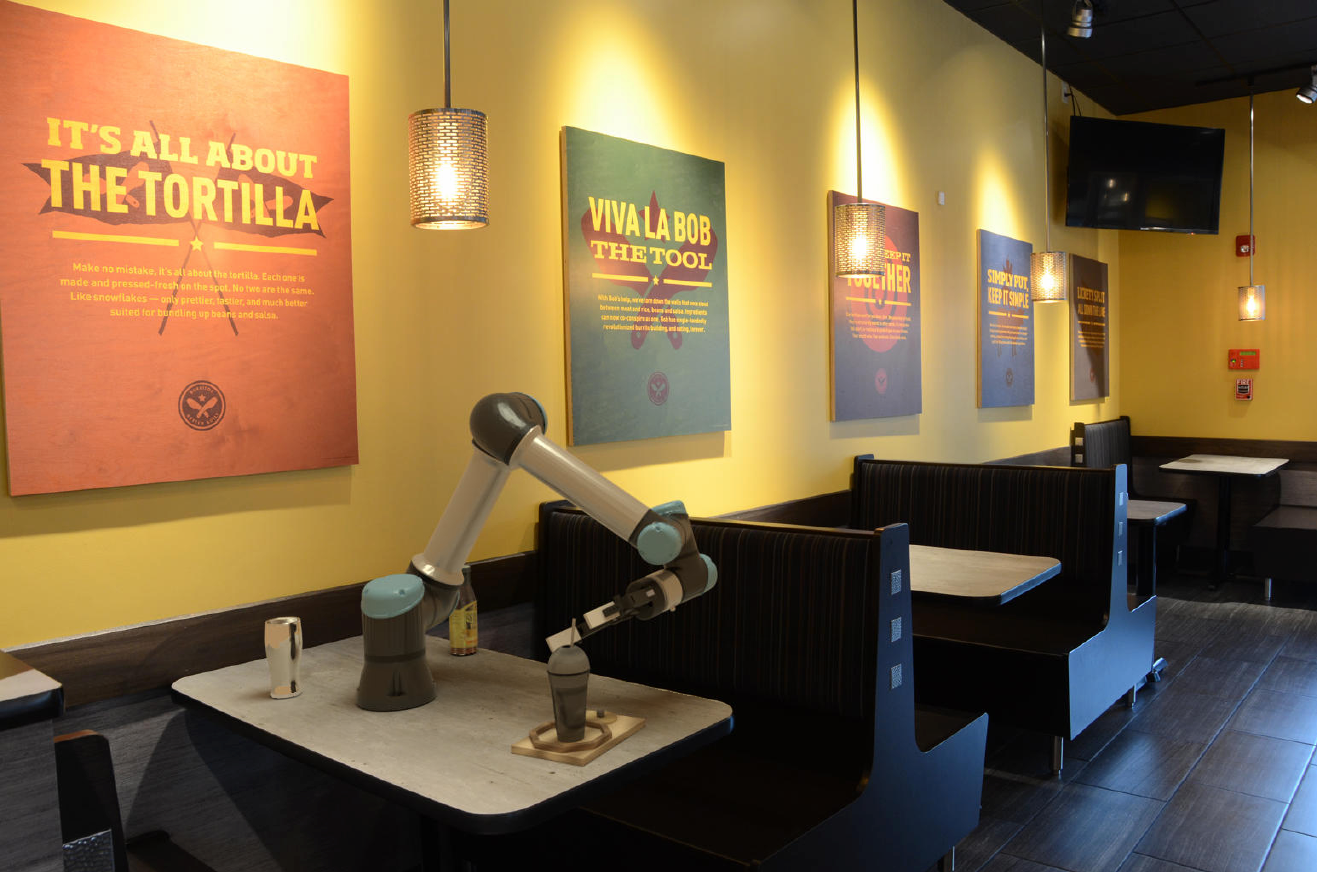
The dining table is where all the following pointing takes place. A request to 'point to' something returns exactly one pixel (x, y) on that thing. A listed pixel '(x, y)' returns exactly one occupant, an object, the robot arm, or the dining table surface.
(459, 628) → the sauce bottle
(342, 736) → the dining table surface
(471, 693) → the dining table surface
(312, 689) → the dining table surface
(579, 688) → the beverage cup
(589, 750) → the board
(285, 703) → the dining table surface
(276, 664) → the beer glass
